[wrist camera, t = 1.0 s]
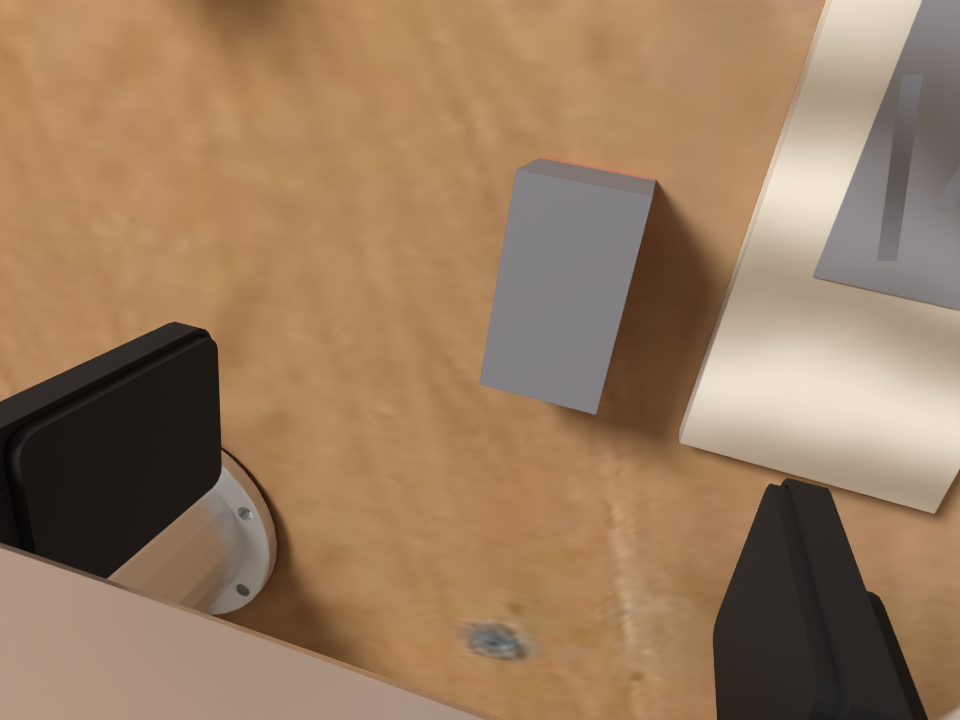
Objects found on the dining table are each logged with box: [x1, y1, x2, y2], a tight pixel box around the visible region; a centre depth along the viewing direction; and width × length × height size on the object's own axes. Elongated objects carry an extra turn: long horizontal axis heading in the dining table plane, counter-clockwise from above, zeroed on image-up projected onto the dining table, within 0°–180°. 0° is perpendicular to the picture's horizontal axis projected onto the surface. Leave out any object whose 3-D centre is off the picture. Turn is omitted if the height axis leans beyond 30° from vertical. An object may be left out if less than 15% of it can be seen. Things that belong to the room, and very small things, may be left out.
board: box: [679, 0, 960, 514], centre depth 22 cm, size 26×10×1 cm, turn 170°
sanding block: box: [479, 157, 656, 415], centre depth 25 cm, size 8×4×5 cm, turn 171°
